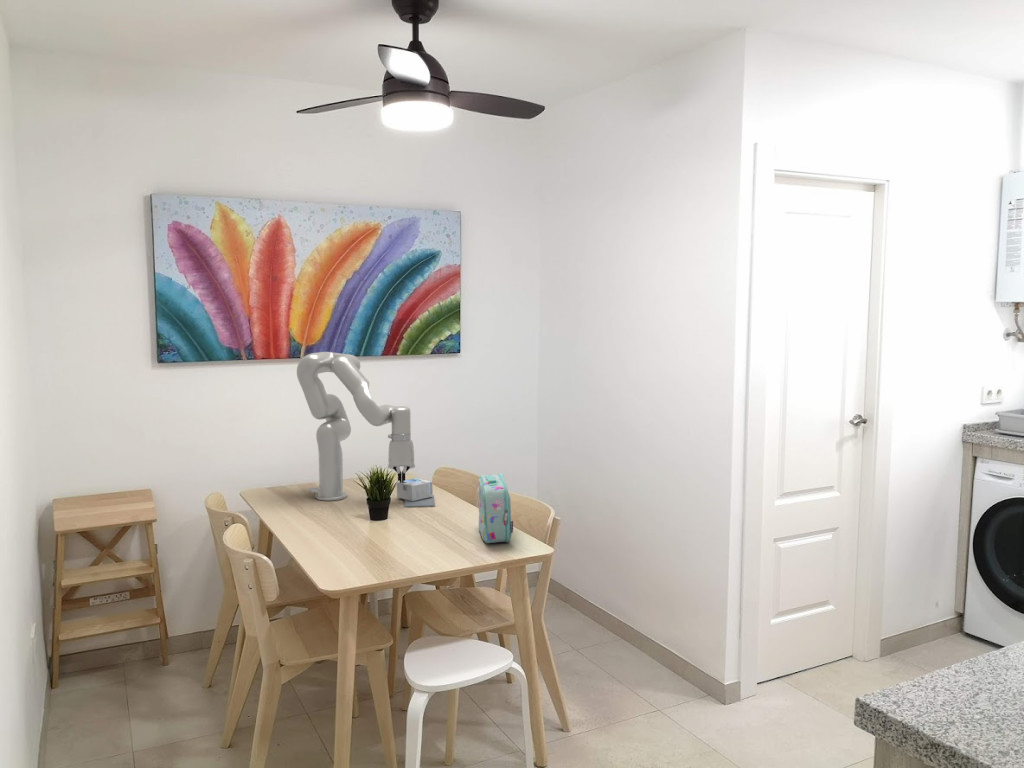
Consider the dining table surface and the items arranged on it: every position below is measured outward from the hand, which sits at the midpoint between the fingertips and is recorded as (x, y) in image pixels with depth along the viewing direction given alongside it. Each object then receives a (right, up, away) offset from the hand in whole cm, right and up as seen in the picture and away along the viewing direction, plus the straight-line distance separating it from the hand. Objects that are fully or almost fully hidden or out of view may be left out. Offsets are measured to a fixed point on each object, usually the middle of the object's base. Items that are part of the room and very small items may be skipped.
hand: (401, 482), depth 315 cm
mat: (+7, -8, +2) cm, 11 cm away
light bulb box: (+1, -4, +2) cm, 5 cm away
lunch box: (+38, -14, -42) cm, 59 cm away
